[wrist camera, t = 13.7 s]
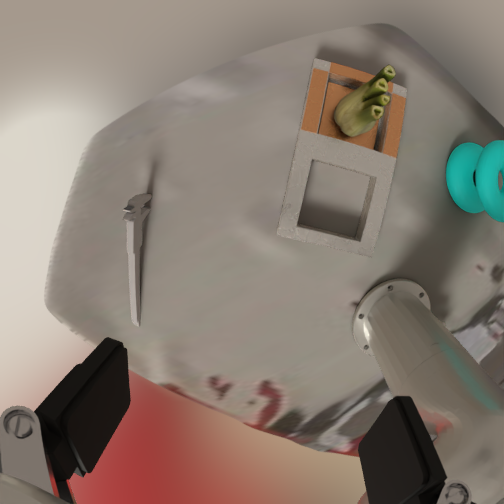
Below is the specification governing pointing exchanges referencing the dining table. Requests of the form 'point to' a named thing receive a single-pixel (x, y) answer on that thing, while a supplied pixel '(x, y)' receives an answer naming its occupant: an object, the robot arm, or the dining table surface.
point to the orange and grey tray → (342, 156)
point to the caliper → (135, 249)
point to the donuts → (477, 178)
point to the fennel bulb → (364, 104)
